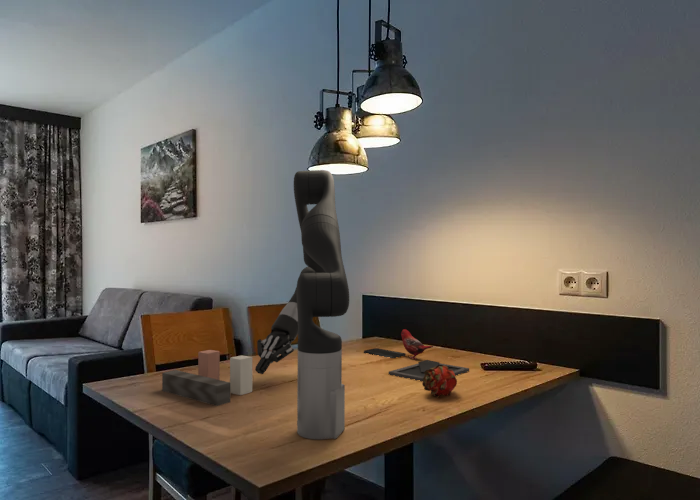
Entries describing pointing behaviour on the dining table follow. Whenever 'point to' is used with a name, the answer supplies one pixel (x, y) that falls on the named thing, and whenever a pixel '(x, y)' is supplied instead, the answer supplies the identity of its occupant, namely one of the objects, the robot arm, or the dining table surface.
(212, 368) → the brick key
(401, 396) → the dining table surface
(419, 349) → the decorative bird figurine
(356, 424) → the dining table surface
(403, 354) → the phone
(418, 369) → the picture frame
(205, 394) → the switch board
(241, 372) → the cream key
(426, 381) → the dragon fruit
